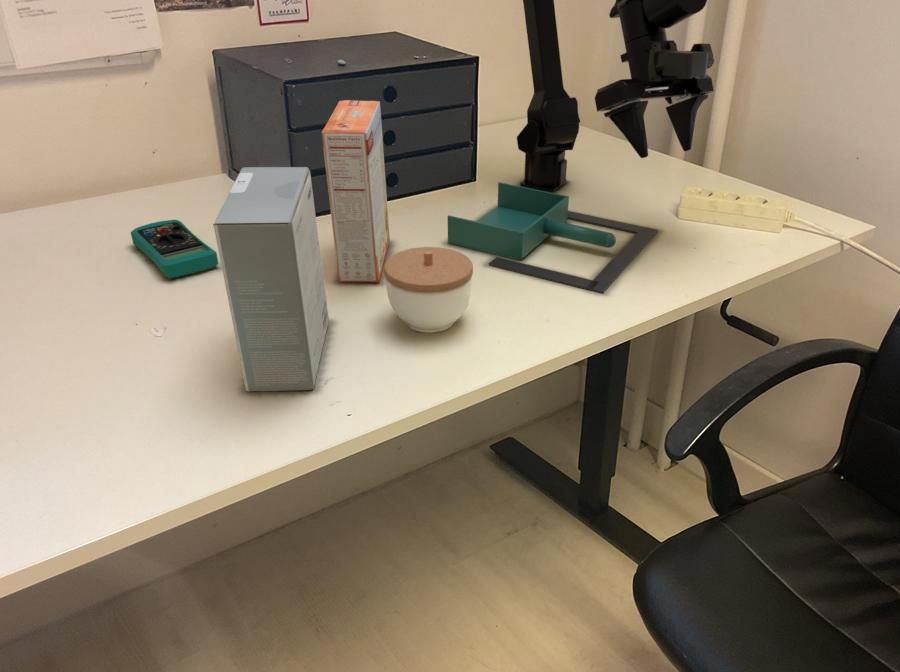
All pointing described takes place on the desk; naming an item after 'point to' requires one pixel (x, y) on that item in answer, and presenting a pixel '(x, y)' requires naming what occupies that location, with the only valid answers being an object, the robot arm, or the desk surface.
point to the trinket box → (429, 287)
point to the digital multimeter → (174, 248)
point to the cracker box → (357, 189)
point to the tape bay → (606, 274)
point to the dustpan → (522, 224)
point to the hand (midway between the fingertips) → (666, 154)
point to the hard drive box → (274, 277)
